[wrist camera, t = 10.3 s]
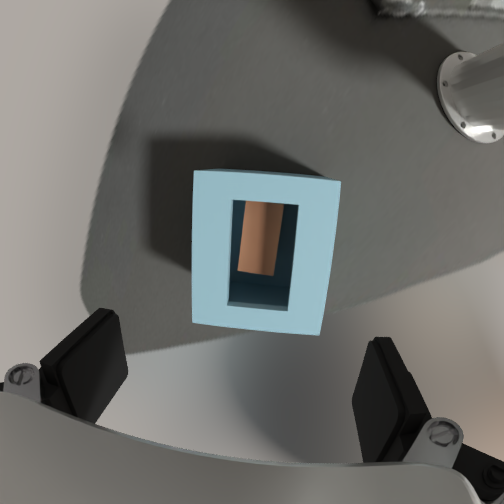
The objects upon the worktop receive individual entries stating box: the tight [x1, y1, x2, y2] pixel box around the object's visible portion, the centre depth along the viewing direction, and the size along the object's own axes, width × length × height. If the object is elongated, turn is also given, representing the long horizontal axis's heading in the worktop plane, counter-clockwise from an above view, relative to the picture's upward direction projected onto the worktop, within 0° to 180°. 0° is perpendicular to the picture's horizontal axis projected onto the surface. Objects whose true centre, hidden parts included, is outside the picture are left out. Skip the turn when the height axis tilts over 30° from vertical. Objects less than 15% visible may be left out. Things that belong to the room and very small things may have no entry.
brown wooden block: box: [238, 201, 284, 276], centre depth 32 cm, size 4×7×6 cm, turn 173°
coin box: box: [192, 169, 341, 335], centre depth 31 cm, size 12×14×10 cm
